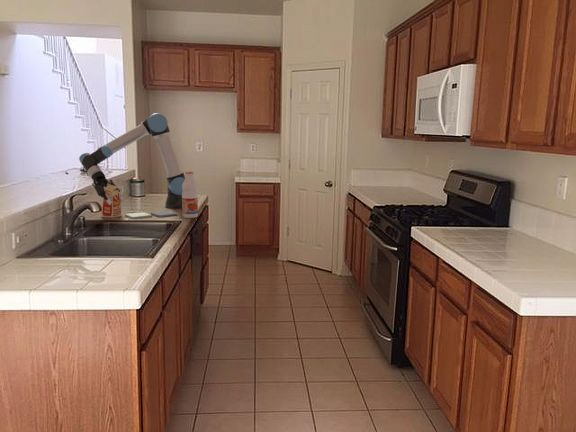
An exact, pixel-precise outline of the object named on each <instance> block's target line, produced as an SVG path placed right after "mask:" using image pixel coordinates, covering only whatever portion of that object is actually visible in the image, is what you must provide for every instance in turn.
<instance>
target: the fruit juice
mask: <svg viewBox="0 0 576 432" xmlns="http://www.w3.org/2000/svg"><path fill="white" fill-rule="evenodd" d="M184 172H185V173H184V175H185V180H184V182H183V184H182V189H183V192H182V208H181V210H182V211H181V212H182V213H181V216H182V218H186V219H194V218H198V215H199V211H198V209H199V207H198V204H199V203H198V202H199V200H198V198H199V197H198V192H197V189H198V183H197V182H196V180H195V177H194V171H191V170H190V171H189V170H188V171H184Z"/></svg>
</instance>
